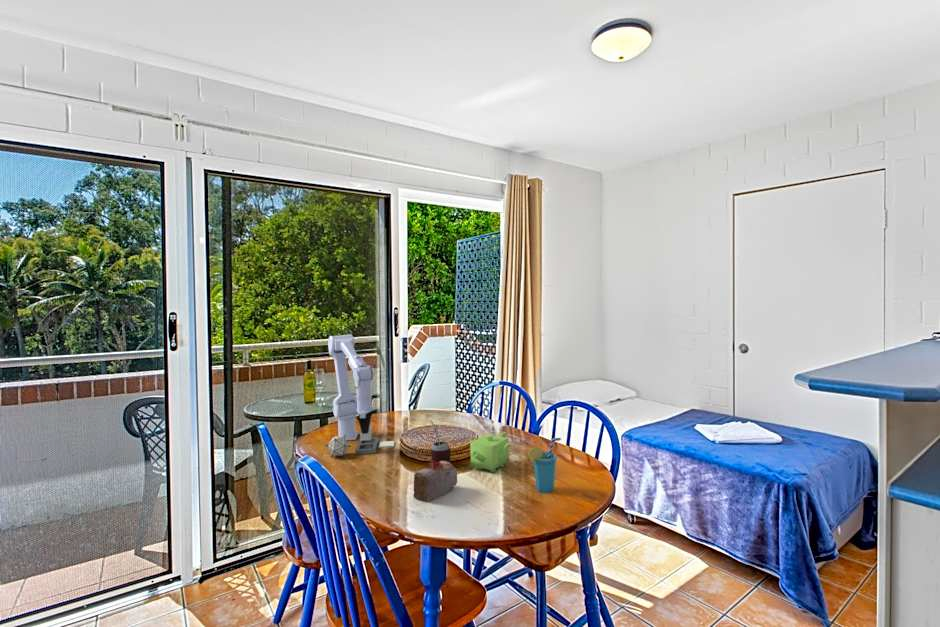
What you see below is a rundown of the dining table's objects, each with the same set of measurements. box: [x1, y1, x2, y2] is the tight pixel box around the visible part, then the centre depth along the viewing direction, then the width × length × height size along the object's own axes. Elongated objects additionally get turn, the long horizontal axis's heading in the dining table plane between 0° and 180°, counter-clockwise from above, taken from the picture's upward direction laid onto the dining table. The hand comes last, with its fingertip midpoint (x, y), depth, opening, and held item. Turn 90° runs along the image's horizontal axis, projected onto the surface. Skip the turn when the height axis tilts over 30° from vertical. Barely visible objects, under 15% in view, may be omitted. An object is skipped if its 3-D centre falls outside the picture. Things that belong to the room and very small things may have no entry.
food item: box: [413, 461, 458, 503], centre depth 152 cm, size 14×8×10 cm, turn 143°
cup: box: [526, 437, 562, 494], centre depth 152 cm, size 14×8×15 cm, turn 132°
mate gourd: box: [430, 420, 452, 463], centre depth 175 cm, size 8×8×15 cm
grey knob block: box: [359, 421, 373, 441], centre depth 193 cm, size 4×4×7 cm
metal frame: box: [354, 436, 380, 456], centre depth 197 cm, size 15×8×2 cm, turn 6°
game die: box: [324, 434, 352, 458], centre depth 188 cm, size 9×8×10 cm
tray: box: [378, 440, 396, 449], centre depth 200 cm, size 6×6×1 cm
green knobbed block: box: [468, 431, 514, 473], centre depth 172 cm, size 15×14×11 cm
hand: (365, 431), depth 193 cm, fingers closed on grey knob block, 4 cm apart
